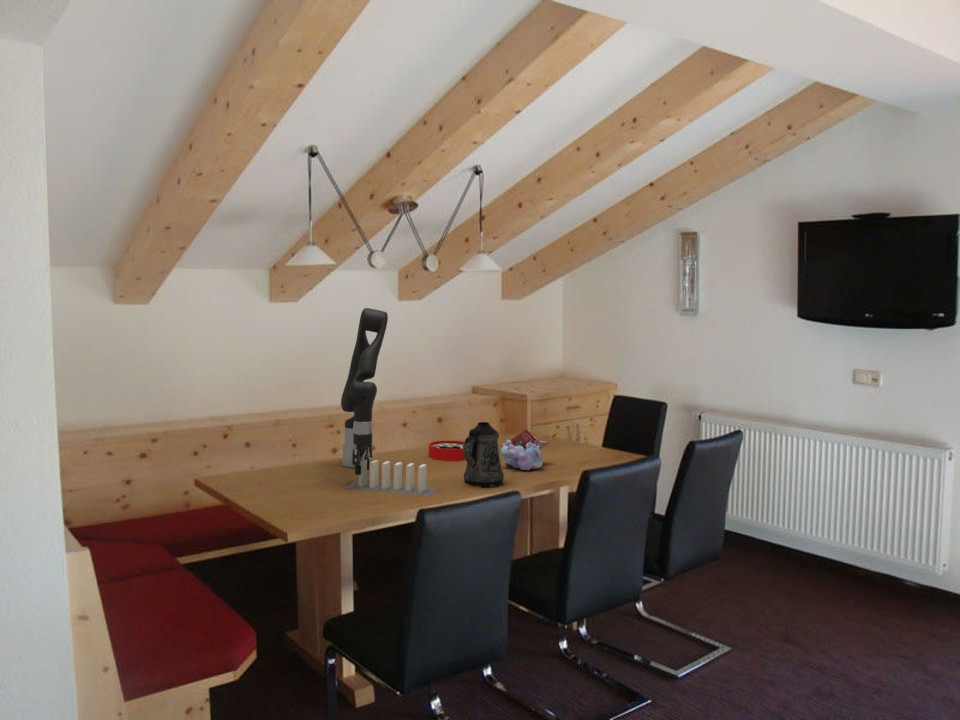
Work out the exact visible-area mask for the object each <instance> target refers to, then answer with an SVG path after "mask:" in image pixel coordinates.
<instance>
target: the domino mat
mask: <svg viewBox="0 0 960 720" xmlns="http://www.w3.org/2000/svg"><path fill="white" fill-rule="evenodd" d="M344 489H353V490H362V491H374V492H383V493H395V494H405V495H412V496H413V495H417V496H427V497H430V496H432V495H433V494H435V492H437V491H438V490H439V487H428V486H426V490H425V491H423V492H422V493H420V492H418V485H414V489H412V490H411V491H406V484H402V488H400V489H399V490H394V483H390V487H388V488H386V489H382V482H378V486H376V487H374V488H370V481H367V484H366V485H364V486H362V487H358V480H355V481H353V482H351V483H350V484H348V485H346V486H345V487H344Z"/></svg>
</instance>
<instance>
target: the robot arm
mask: <svg viewBox="0 0 960 720" xmlns="http://www.w3.org/2000/svg"><path fill="white" fill-rule="evenodd" d="M388 318H389V316H388V313H387V311H383V310H379V309H375V308H368V307H365V308H363V309H362V311H361V313H360V316H359V322H358V323H359V324H358V330H357V335H356V339H355V340H356V341H355V343H354V344H355V345H354V349H353V353H352V356H351V359H350V360H351V361H350V365H349V370H348V375H347V378H346V383H345V385H344V388H343V391H342V394H341V399H340V407H341V409H342V411H344V412H346V413H353V416H352V417H349V418H348V419H345V420H344V443H343V444H342V467H345V468H346V467H347V468H353V469H354V474H355V476H356V475H357V476H358V475H360V474H361V463H362V461H363V460H364V459H367V471H368V470H369V471H370V462H371V459H373V407H374V402H375V400H376V399H375V398H376V397H377V396H376V395H377V393H378V388H377V385H376V383H375V382H372V381H367V380H370V379H371V380H372V379H373V378H374V377H375V376H376V370H377V364H378V359H379V355H380V351H381V348H382V345H383V341H384V338H385V334H386V330H387V325H388V320H389V319H388ZM367 332H371V333H376V336H375V338H374V339H373V341H372V342H371V343H370V342H369V340H368V337H367Z"/></svg>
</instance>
